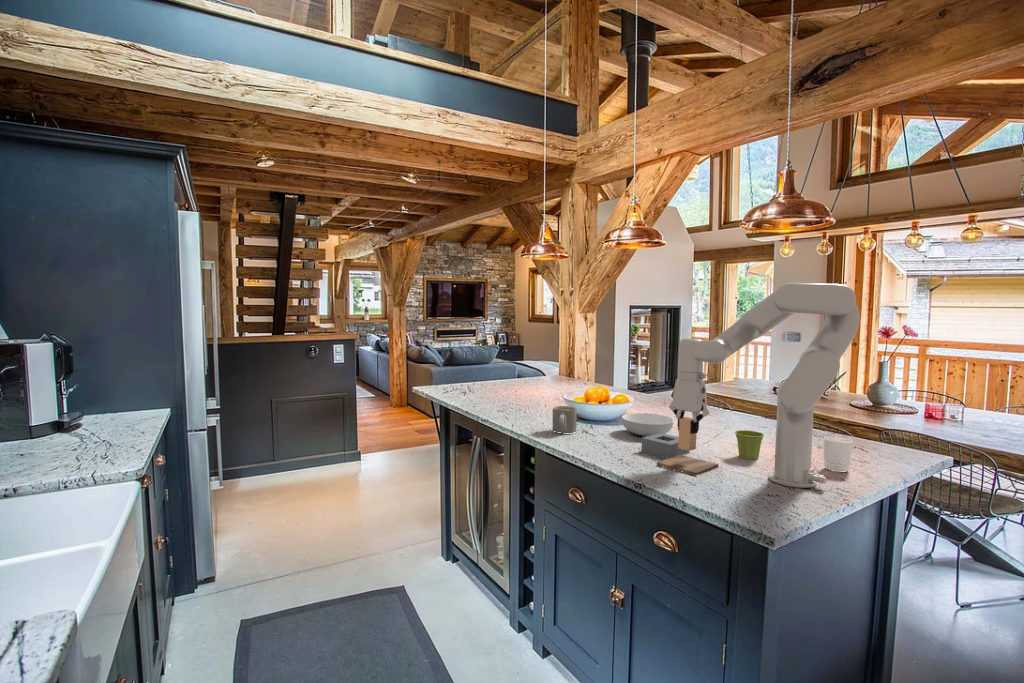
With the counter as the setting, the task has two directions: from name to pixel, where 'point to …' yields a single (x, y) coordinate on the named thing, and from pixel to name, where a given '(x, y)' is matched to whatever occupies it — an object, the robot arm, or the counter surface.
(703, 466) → the walnut mat
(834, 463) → the white cup
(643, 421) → the serving bowl
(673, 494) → the counter surface
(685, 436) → the copper peg
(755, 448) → the plant pot
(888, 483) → the counter surface
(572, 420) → the coffee mug
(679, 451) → the socket block
